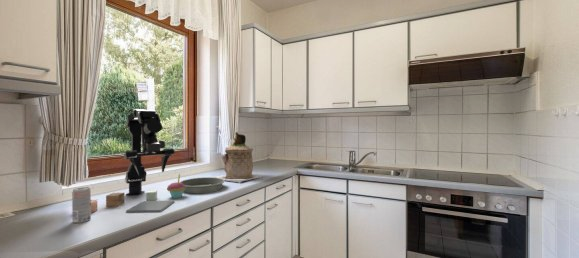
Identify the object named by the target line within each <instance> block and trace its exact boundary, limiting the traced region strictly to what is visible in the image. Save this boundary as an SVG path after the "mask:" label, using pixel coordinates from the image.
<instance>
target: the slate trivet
mask: <svg viewBox="0 0 579 258" xmlns="http://www.w3.org/2000/svg"><path fill="white" fill-rule="evenodd" d="M174 203H175V200H151V201H146V200H143V201H140V202H139V203H137V204H135V205H133V206H131V207H130V208H128V209H126V210H125V213H162V212H163V211H164V210H165V209H167V208H169V207H170V206H172V205H173V204H174Z"/></svg>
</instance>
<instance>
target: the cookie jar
mask: <svg viewBox="0 0 579 258" xmlns="http://www.w3.org/2000/svg"><path fill="white" fill-rule="evenodd" d="M234 135H235V136H234V137H233V140H234V142H233V143H232V144H230V145H229V146H228V147H225V150H224V152H225V153H224V155H222V157H221V159H222V162H223V163H224V165H223V170H224V172H225V174H223V175H216V176H215V175H214V176H213V178H221V179H224V182H225V181H227V182H232V183H233V182H235V183H238V184H241V183H242V182H247V181H251V180H256V179H260V178H262V177H263V174H258V173H257V174H255V173H253V169H254V168H253V167H254V164H253V155H252V154H253V153H252V152H253V150H254V148H252V147H249V146H247V145H246V141H247V140H246V135H245V134H242V133H239V132H238V131H236V132H235V134H234Z"/></svg>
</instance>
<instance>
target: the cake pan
mask: <svg viewBox="0 0 579 258" xmlns="http://www.w3.org/2000/svg"><path fill="white" fill-rule="evenodd" d="M180 182H181V183H183V184H184V185H185V186H186V187H185V190H184V191H183V193H187V194H205V193H212V192H217V191H220V190H221V189H222V187H223V184H224V182H225V180H224V179H221V178H214V176H212V177H209V176H208V177H207V176H206V177H194V178H193V177H192V178H188V179H183V180H181V181H180Z"/></svg>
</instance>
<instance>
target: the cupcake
mask: <svg viewBox="0 0 579 258" xmlns="http://www.w3.org/2000/svg"><path fill="white" fill-rule="evenodd" d="M180 177H181V173H179V174H178V178H177V182H171V184H168V186H167V187H166V190H167V192H169V193H170V196H171V198H172V199H173V198H175V199H177V198H182V196H183V193H184V192H183V191H184V190H185V187H186V186H185V185H184V184H183V183H181V181H180Z"/></svg>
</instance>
